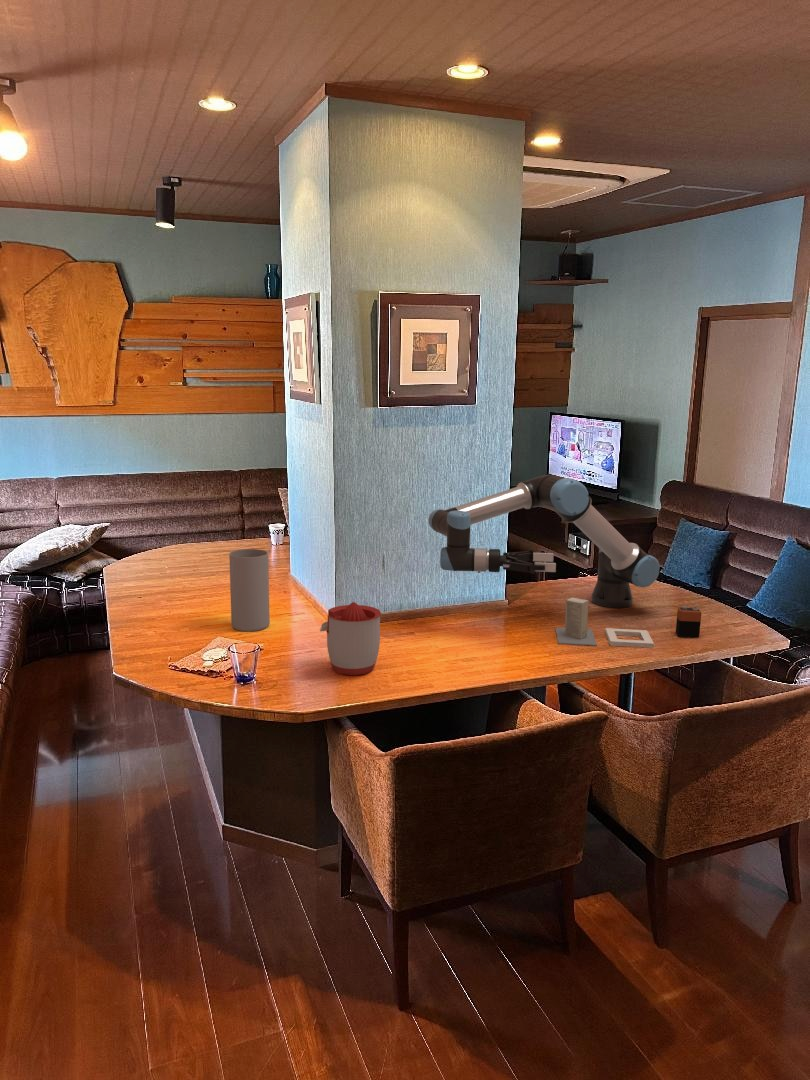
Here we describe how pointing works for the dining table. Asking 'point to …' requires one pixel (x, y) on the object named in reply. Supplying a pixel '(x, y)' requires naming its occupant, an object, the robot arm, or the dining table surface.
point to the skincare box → (576, 618)
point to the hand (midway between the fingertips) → (554, 562)
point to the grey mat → (575, 641)
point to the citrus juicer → (353, 638)
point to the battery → (688, 622)
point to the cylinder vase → (249, 589)
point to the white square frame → (644, 641)
